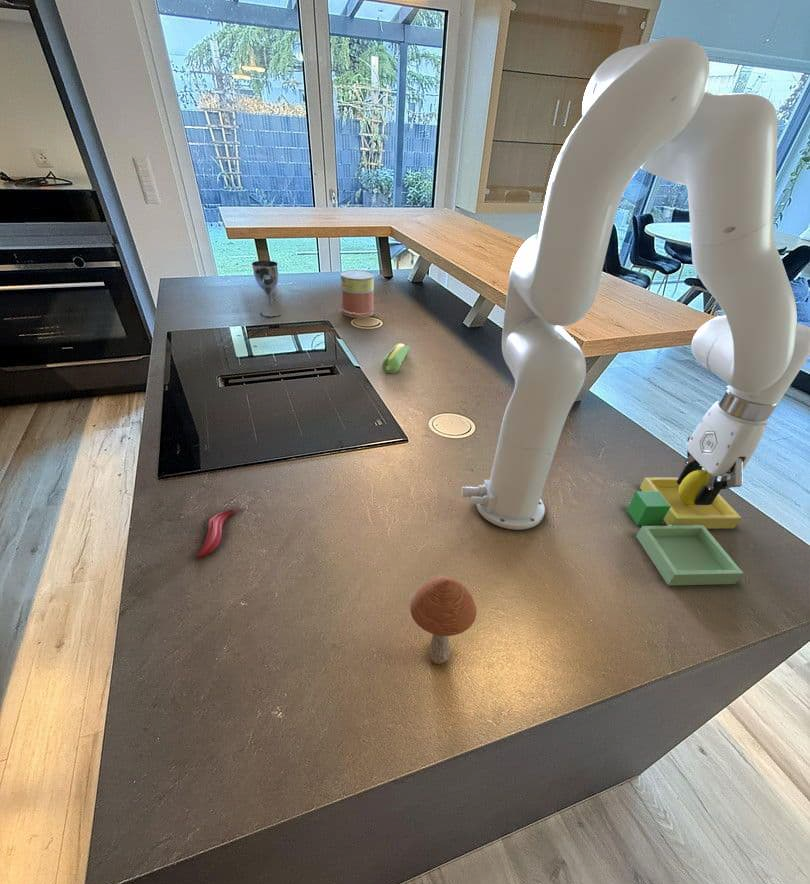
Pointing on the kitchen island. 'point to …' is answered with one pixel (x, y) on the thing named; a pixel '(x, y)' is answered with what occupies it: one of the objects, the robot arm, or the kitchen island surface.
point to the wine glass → (266, 276)
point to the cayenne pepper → (214, 532)
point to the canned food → (357, 292)
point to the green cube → (648, 508)
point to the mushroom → (443, 613)
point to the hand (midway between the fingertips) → (693, 492)
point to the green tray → (688, 555)
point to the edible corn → (395, 358)
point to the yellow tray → (691, 507)
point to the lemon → (693, 486)
